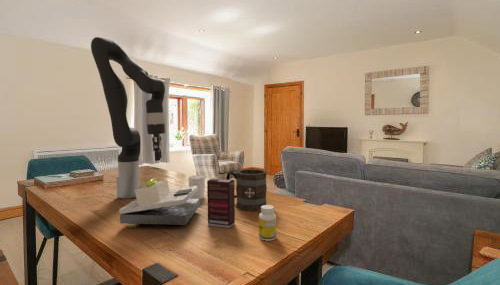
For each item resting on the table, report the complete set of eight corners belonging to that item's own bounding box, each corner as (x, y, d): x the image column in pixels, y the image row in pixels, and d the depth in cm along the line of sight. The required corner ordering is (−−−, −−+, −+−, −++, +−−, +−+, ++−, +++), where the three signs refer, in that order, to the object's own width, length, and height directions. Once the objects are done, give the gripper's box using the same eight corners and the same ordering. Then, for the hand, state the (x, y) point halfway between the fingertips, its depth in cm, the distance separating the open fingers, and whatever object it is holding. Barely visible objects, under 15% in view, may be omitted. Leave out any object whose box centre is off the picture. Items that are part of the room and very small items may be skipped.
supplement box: (235, 223, 96) (235, 179, 95) (229, 228, 92) (229, 182, 91) (213, 220, 99) (213, 177, 98) (207, 225, 95) (206, 180, 93)
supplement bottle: (257, 234, 87) (257, 204, 86) (274, 233, 88) (274, 203, 87) (259, 241, 82) (260, 209, 81) (277, 241, 82) (277, 209, 82)
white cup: (207, 195, 134) (206, 175, 133) (202, 200, 126) (202, 178, 125) (191, 195, 134) (191, 175, 134) (186, 199, 127) (185, 178, 126)
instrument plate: (120, 213, 91) (115, 189, 90) (145, 197, 111) (141, 177, 110) (184, 203, 89) (179, 179, 89) (198, 189, 109) (194, 168, 109)
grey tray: (120, 229, 91) (120, 214, 91) (146, 210, 111) (145, 198, 111) (185, 230, 90) (185, 215, 90) (199, 211, 110) (199, 199, 110)
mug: (272, 204, 119) (273, 170, 118) (257, 213, 107) (257, 176, 106) (235, 198, 129) (235, 167, 128) (217, 205, 117) (217, 171, 116)
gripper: (148, 123, 127) (151, 158, 129) (144, 123, 114) (147, 162, 115) (165, 122, 129) (167, 156, 130) (163, 122, 115) (166, 160, 117)
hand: (158, 159), depth 123 cm, fingers open, 8 cm apart
